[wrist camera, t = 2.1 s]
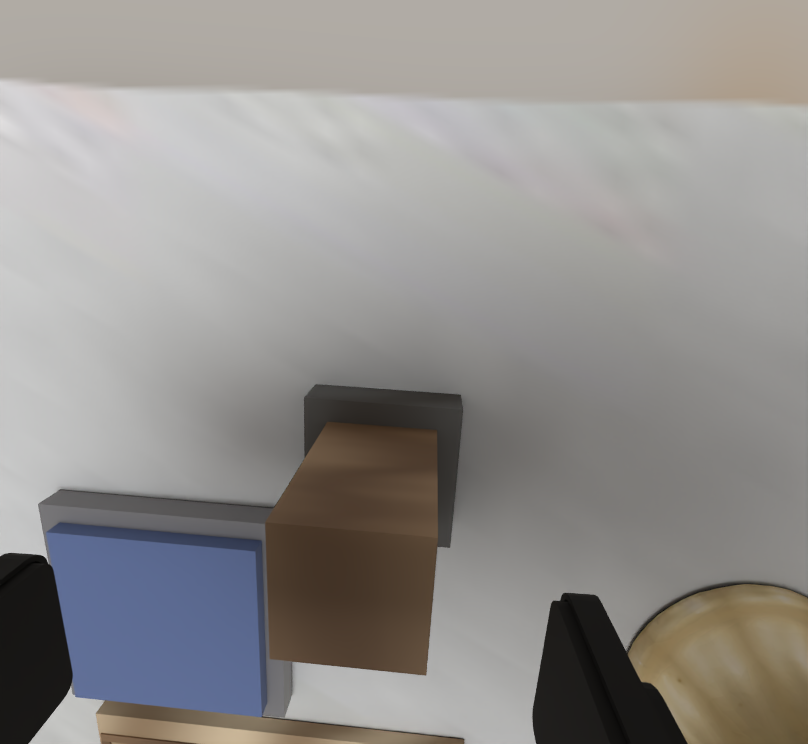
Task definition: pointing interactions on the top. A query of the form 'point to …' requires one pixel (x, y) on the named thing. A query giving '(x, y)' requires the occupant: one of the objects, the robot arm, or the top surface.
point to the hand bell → (731, 664)
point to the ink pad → (165, 602)
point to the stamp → (363, 529)
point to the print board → (232, 729)
